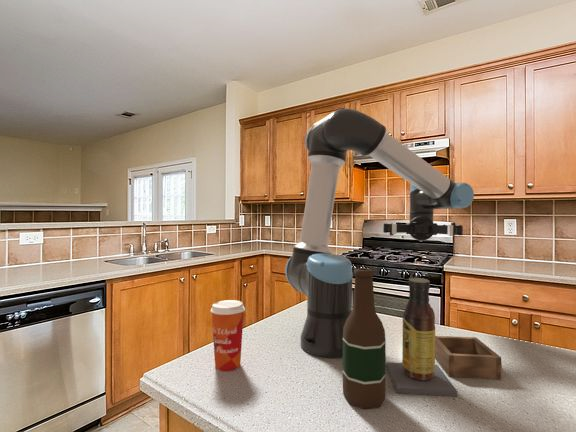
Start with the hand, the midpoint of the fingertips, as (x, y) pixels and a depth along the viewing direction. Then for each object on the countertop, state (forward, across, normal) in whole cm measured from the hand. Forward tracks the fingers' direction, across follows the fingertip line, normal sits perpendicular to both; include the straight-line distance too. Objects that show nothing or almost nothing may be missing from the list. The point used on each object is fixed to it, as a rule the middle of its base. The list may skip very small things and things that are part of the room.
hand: (421, 229), depth 83 cm
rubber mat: (+17, 0, -31) cm, 35 cm away
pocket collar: (+6, -9, -30) cm, 32 cm away
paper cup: (+26, +40, -32) cm, 57 cm away
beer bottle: (+28, +10, -31) cm, 43 cm away
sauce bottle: (+17, 0, -30) cm, 34 cm away
